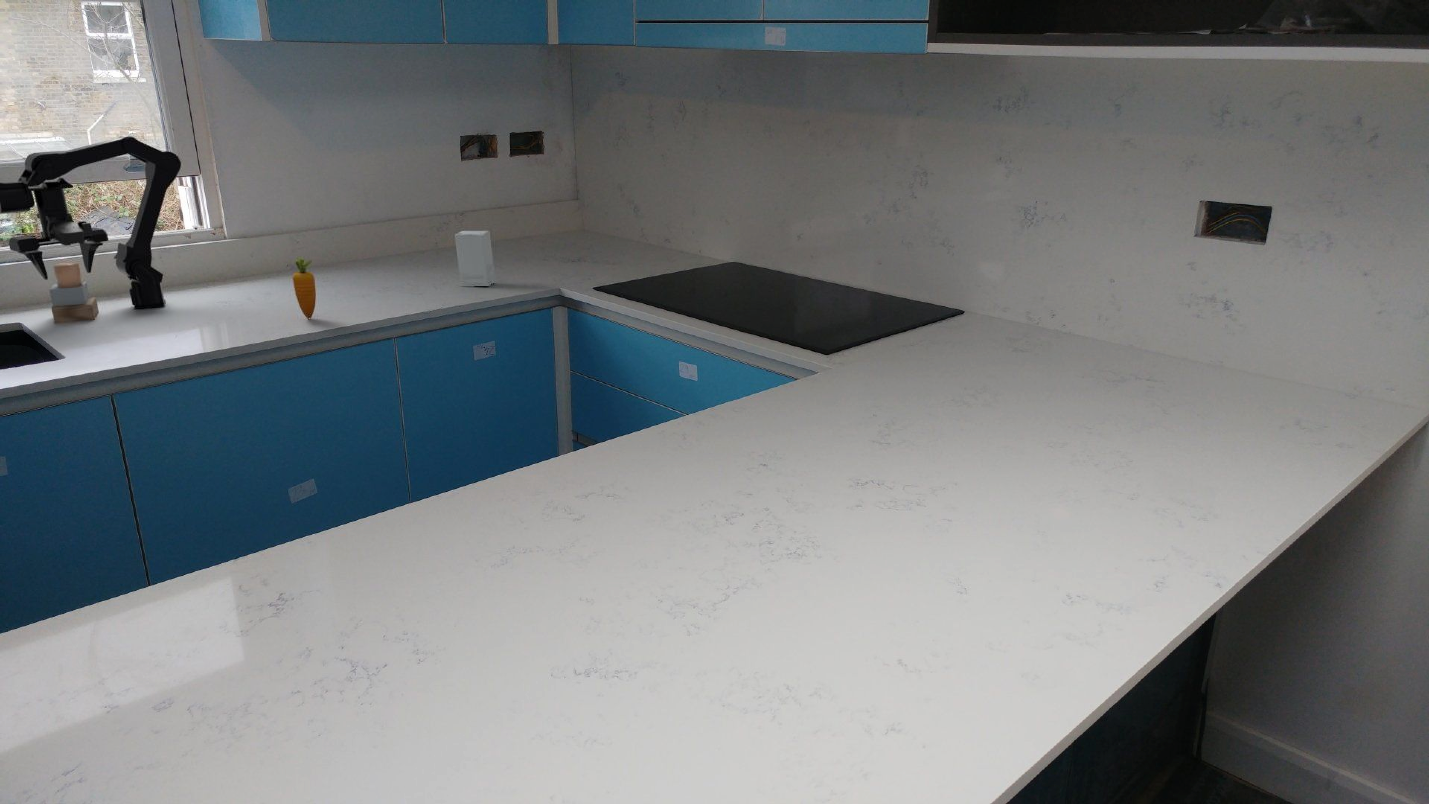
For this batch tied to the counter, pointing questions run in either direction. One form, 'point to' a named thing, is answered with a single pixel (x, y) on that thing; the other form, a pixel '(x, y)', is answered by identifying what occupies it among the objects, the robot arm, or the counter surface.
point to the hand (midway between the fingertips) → (67, 276)
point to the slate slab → (69, 295)
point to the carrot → (305, 288)
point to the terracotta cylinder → (68, 275)
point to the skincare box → (475, 258)
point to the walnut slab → (76, 312)
